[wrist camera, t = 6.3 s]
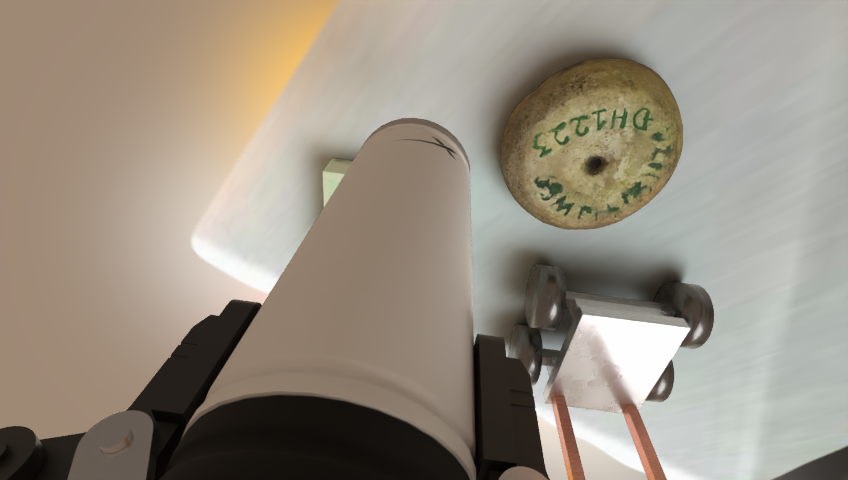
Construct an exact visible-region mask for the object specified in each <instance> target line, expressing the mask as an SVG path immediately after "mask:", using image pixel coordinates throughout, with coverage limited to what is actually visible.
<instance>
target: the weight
mask: <svg viewBox="0 0 848 480" xmlns="http://www.w3.org/2000/svg"><path fill="white" fill-rule="evenodd" d="M682 145H683V125H682V121H681V116H680V112H679V108H678V105H677V103H676V100H675V98H674V96H673V94H672V92H671V90H670V88H669V87H668V85H667V84H666V83H665V81H664V80H663V79H662V78H661V77H660V76H659V75H658V74H657V73H655V72H654V71H653V70H652V69H650V68H648V67H646V66H644V65H642V64H639V63H636V62H633V61H630V60H625V59H592V60H587V61H583V62H580V63H577V64H575V65H572V66H569V67H567V68H565V69H563V70H561V71H559V72H557V73H556V74H554V75H553V76H551V77H550V78H548V79H547V80H546V81H544V82H543V83H542V84H541V85H540V86H539V87H538V88H537V89H536V90H535V91H534V92H532V93H530V94H529V95H527V96H526V97H524V99H523V100H522V101H521V102H520V103H519V104H518V106H517V107H516V108H515V109H514V110H513V112H512V114H511V116H510V118H509V121H508V123H507V126H506V129H505V132H504V136H503V139H502V142H501V150H500V156H501V166H502V171H503V176H504V179H505V182H506V185H507V187H508V189H509V191H510V192H511V194H512V196H513V197H514V199H515V200H516V201H517V202H518V203H519V204H520V206H521V207H523V208H524V209H525V210H526V211H527V212H528V213H530V214H531V215H532V216H534V217H535V218H537V219H538V220H540V221H542V222H543V223H546V224H549V225H552V226H555V227H559V228H563V229H576V230H577V229H595V228H600V227H604V226H607V225H610V224H613V223H616V222H619V221H621V220H623V219H624V218H626V217H628V216H630V215H632V214H633V213H635V212H636V211H638V210H639V209H641V208H642V207H643V206H645V205H646V204H648V203H649V202H650V201H651V200H652V199H653V198H654V197H655V196H656V195H657V194H658V193H659V192H660V191H661V190H662V189H663V187H664V186H665V185H666V183H667V182H668V181H669V179H670V177H671V176H672V174H673V172H674V170H675V168H676V166H677V163H678V161H679V158H680V156H681V152H682Z"/></svg>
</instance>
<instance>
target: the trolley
mask: <svg viewBox="0 0 848 480" xmlns="http://www.w3.org/2000/svg"><path fill="white" fill-rule="evenodd" d="M564 309H570V310H569V311H570V314H571V317H572V320H573V322H572V324H571V326H570V329H569V331H568V334H567V336H566V339H565V341H564V343H563V346H562V348H561V351H558V350H551V349H543V348H542V338H541V333H540V331H539V329H547V330H555V329H556V328H557V327H558V326H559V324H560V322H561V320H562V317H563V313H564ZM525 313H526V320H527V323H528V325H529V326H526V325H518V324H517V325H515V327H514V328H513V331H512V334H511V338H510V344H509V354H508V357H509V358H516V359H520V360H521V361H522V363H523V364H524V366H525V368H526V369H527V371H528V373H529V374H530V378H531V384H532V385H535V384H536V383H537V381H538V378H539V375H540V371H541V366H542V365H545V366H547V370H548V374H549V380H548V382H547V385H546V387H545V389H544V392H543V395H544V400H545V403H547V404H552V406H553V410H554V415H555V420H556V424H557V429H558V434H559V438H560V443H561V447H562V452H563V457H564V461H565V466H566V471H567V475H568V480H585V476H584V472H583V468H582V464H581V460H580V456H579V452H578V448H577V444H576V440H575V436H574V432H573V428H572V424H571V420H570V416H569V412H568V408H567V406H570V407H577V408H585V409H592V410H600V411H607V412H615V413H622V414H624V417H625V420H626V422H627V425H628V428H629V430H630V433H631V436H632V438H633V441H634V444H635V446H636V449H637V452H638V454H639V457H640V460H641V462H642V465H643V468H644V470H645V473H646V475H647V478H648V480H667V479H666V477H665V474H664V472H663V470H662V467H661V465H660V462H659V460H658V457H657V455H656V453H655V450H654V448H653V445H652V443H651V441H650V438H649V436H648V433H647V431H646V428H645V426H644V424H643V421H642V419H641V416H640V414H639V412H638V410H639V408H640V407H641V405H642V404H643V402H644V401H653V402H663V401H664V400H666V399H667V398H668V396H669V395H670V393H671V391H672V387H673V383H674V368H673V362H672V359H671V358H672V357H673V355H674V353H675V352H676V350H677V349H678V347H684V348H691V349H694V348H698V347H700V346H702V345H703V344H704V343H705V342H706V341H707V339H708V338H709V336H710V334H711V331H712V328H713V322H714V310H713V305H712V301H711V299H710V297H709V295H708V293H707V292H706V291H705V290H704V289H703V288H702V287H700V286H698V285H693V284H686V283H678V282H668V283H666V284H664V285H663V286H662V287H661V288H660V289H659V291H658V293H657V294H656V297H655V299H654V302H648V301H641V300H633V299H625V298H618V297H610V296H602V295H595V294H587V293H579V292H572V291H566V281H565V276H564V273H563V270H562V269H561V268H560V267H555V266H547V265H540V264H536V265H535V266H534V267H533V269H532V271H531V273H530V276H529V279H528V284H527V289H526V298H525ZM538 328H539V329H538Z"/></svg>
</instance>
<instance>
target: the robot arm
mask: <svg viewBox="0 0 848 480" xmlns="http://www.w3.org/2000/svg"><path fill="white" fill-rule="evenodd" d="M261 307H262V305H261V304H260V303H257V302H249V301H242V300H231V301H230V302H229V303H228V305H227V306H226V307H225V309H224V310H223V311H222V313H221V314H220V315H219V316H215V315H210V316H208V317H207V318H205V319H204V320H202V321H201V322H200V323H198V324H197V325H195V326H194V327H193V328H192V329H191V330H190V332H189V333H188V334H187V335H186V337H185V338H184V339H183V340H182V342H181V345H178V347H177V348H176V349H175V350H174V352H173V353H172V354H171V358H168V359H167V361H166V362H165V363H164V364H163V366H162V367H161V368H160V370H159V371H158V372H157V373H156V375H155V376H154V377H153V378H152V380H151V381H150V382H149V384H148V385H147V386H146V387H145V389H144V390H143V391H142V392H141V394H140V395H139V396H138V397H137V399H136V400H135V401H134V402H133V404H132V405H131V406H130V407H129V408H128V409H127V410H126V411H123V412H119V413H116V414H113V415H111V416H109V417H107V418H105V419H103V420H101V421H100V422H98V423H97V424H95V425H94V426H93V427H92V428H91V429H89V430H88V432H85V433H81V434H75V435H68V436H61V437H55V438H49V439H43V440H39V439H38V438H37V436H36V435H35V434H34V432H33V431H32V430H30V429H29V428H26V427H21V426H12V427H6V428H2V429H0V480H159V479H160V478H161V477H162V476H163V475H164V474H165V471H166V468H167V466H168V463H169V461H170V458H171V456H172V454H173V452H174V451H175V449H176V448H177V446H178V444H179V443H180V441H181V438H182V436H183V433H184V431H185V428H186V426H187V424H188V423H189V421H190V419H191V418H192V416H193V415H194V413H195V412H196V410H197V409H198V408H199V407H200V406H201V405H202V404H203V403H204V401H205V399H206V396H207V394H208V392H209V390H210V388H211V386H212V385H213V383H214V381H215V380H216V378H217V377H218V375H219V373H220V372H221V370H222V369H223V367H224V365H225V364H226V362H227V361H228V359H229V357H230V356H231V354H232V353H233V351H234V350H235V348H236V346H237V345H238V343H239V342H240V340H241V338H242V337H243V335H244V334H245V332H246V330H247V329H248V327H249V326H250V324H251V323H252V321H253V319H254V318H255V316H256V315H257V313H258V311H259V310H260V308H261ZM474 384H475V433H476V459H475V467H476V480H550V479H549V477H548V475H547V472H546V469H545V464H544V458H543V453H542V446H541V440H540V434H539V427H538V421H537V415H536V411H535V403H534V396H533V390H532V384H531V378H530V374H529V373H528V371H527V369H526V368H525V366H524V364H523V363H522V361H521V360H520V359H516V358H509V357H506V351H505V342H504V338H502V337H495V336H488V335H481V334H477V337H476V340H475V344H474Z"/></svg>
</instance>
